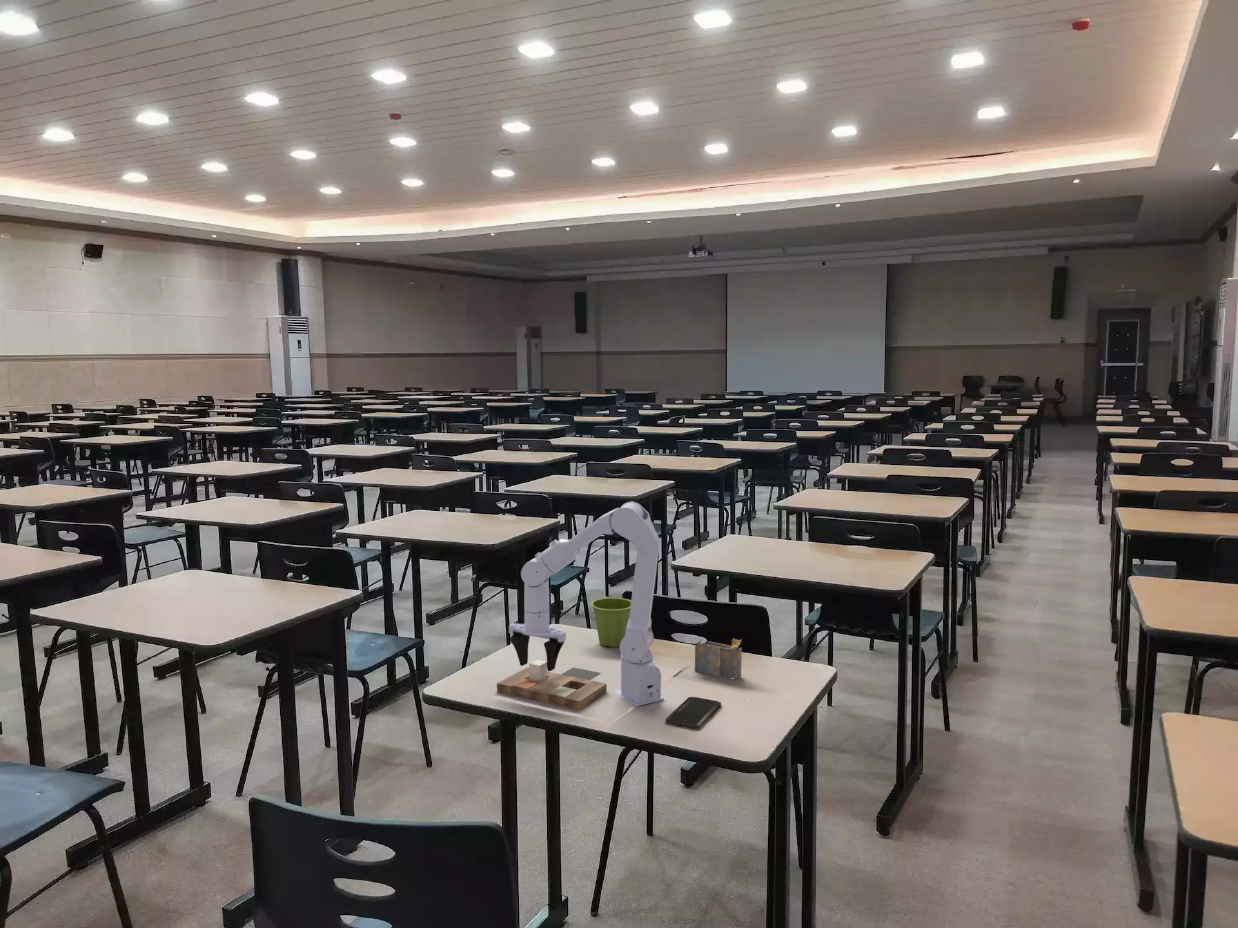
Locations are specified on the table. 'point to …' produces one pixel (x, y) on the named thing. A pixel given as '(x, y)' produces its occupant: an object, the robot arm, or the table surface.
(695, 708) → the phone
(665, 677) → the table surface
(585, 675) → the grey square plate
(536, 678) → the plug
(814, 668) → the table surface
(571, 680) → the socket block
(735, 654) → the weathered storage box
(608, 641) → the plant pot
